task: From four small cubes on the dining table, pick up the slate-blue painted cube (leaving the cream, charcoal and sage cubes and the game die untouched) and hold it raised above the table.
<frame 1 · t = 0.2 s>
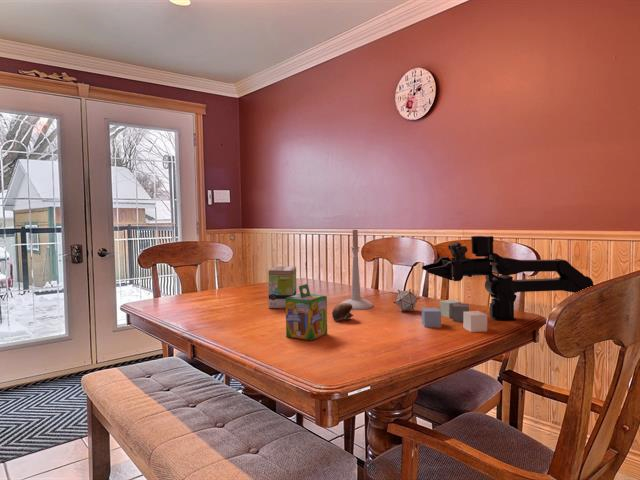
hand: (424, 269, 141), 17 cm above the table, fingers open, 9 cm apart
cream cube: (475, 329, 127), on the table
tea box: (283, 304, 169), on the table
mushroom: (342, 320, 141), on the table
candlestick: (356, 306, 163), on the table
charcoal cube: (461, 320, 139), on the table
slate blue cube: (431, 325, 133), on the table
sage cube: (450, 315, 145), on the table
game die: (406, 311, 153), on the table
chalk box: (307, 336, 123), on the table
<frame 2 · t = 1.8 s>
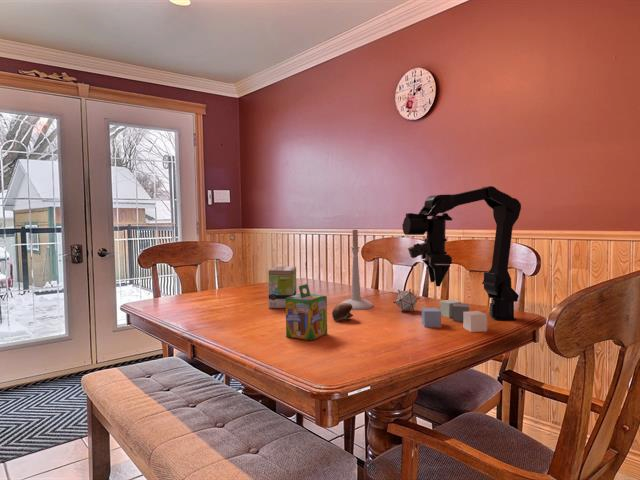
hand: (435, 284, 134), 13 cm above the table, fingers open, 9 cm apart
nothing on the table moved.
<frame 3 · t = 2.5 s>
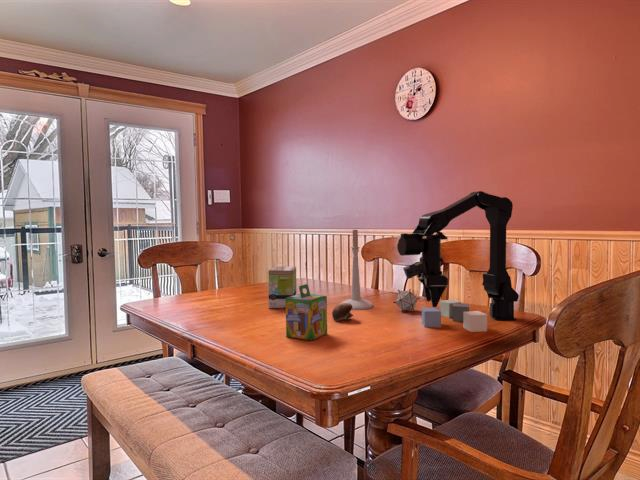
hand: (431, 303, 132), 7 cm above the table, fingers open, 9 cm apart
nothing on the table moved.
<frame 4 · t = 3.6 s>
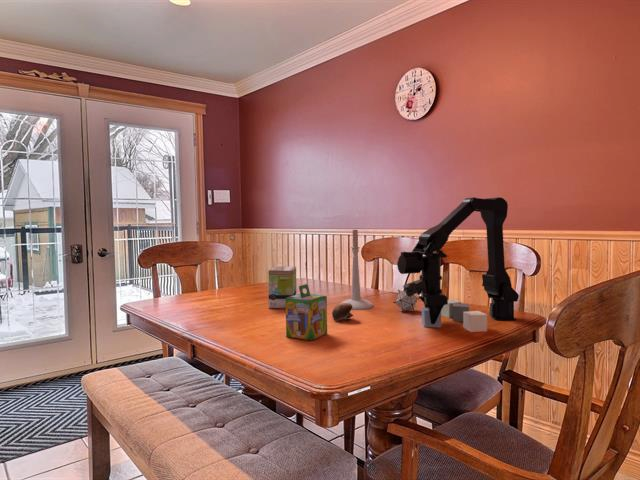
hand: (431, 321, 133), 1 cm above the table, fingers closed on slate blue cube, 5 cm apart
slate blue cube: (431, 325, 133), on the table, touching gripper
everything else where it was.
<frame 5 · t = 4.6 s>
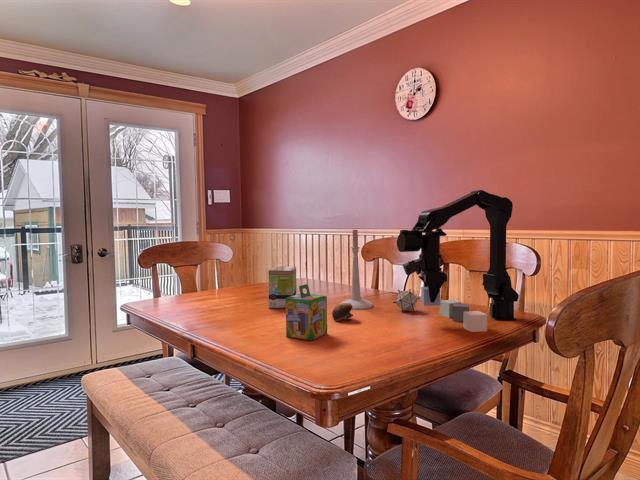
hand: (430, 300, 132), 8 cm above the table, fingers closed on slate blue cube, 5 cm apart
slate blue cube: (430, 304, 132), point 7 cm above the table, touching gripper
everything else where it was.
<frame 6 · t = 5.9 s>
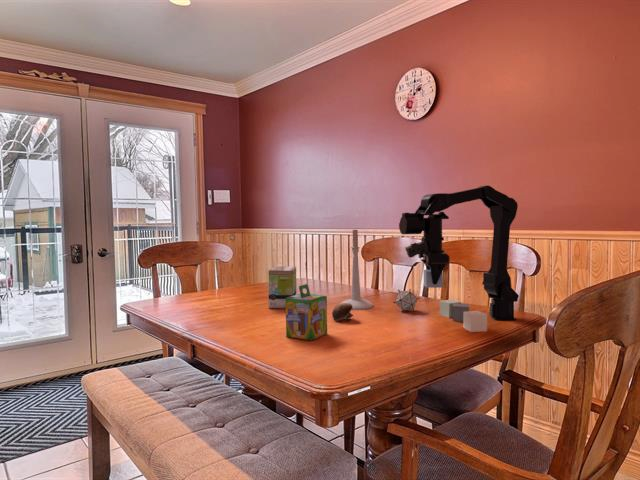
hand: (433, 283, 134), 13 cm above the table, fingers closed on slate blue cube, 5 cm apart
slate blue cube: (432, 286, 134), point 12 cm above the table, touching gripper
everything else where it was.
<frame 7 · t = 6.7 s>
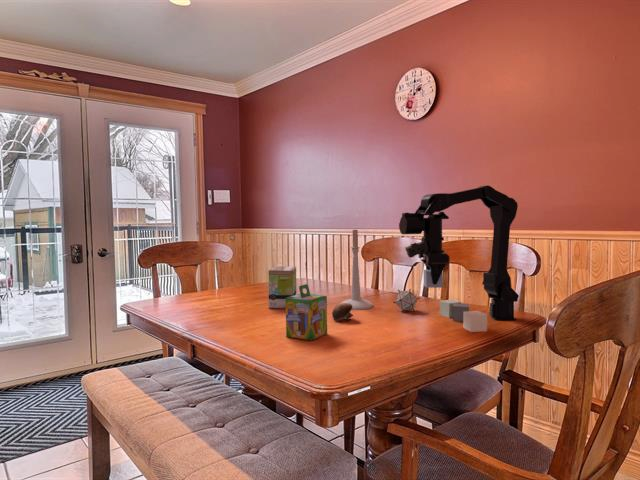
hand: (433, 283, 134), 13 cm above the table, fingers closed on slate blue cube, 5 cm apart
slate blue cube: (432, 286, 134), point 12 cm above the table, touching gripper
everything else where it was.
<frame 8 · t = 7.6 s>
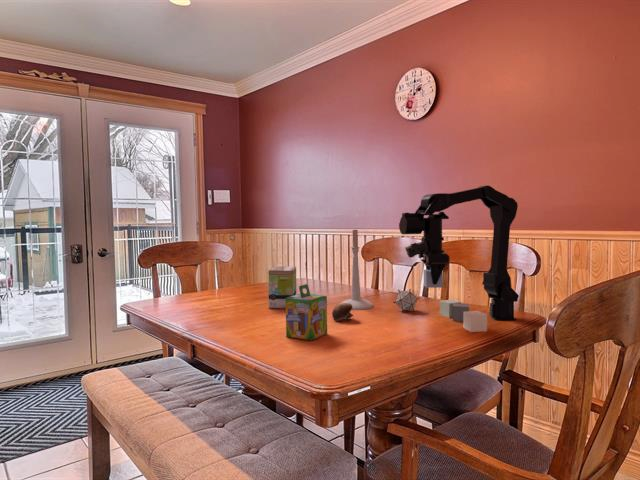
hand: (433, 283, 134), 13 cm above the table, fingers closed on slate blue cube, 5 cm apart
slate blue cube: (432, 286, 134), point 12 cm above the table, touching gripper
everything else where it was.
at the end: the gripper is holding slate blue cube; slate blue cube point 11.9 cm above the table; cream cube moved 0.1 cm from its start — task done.
